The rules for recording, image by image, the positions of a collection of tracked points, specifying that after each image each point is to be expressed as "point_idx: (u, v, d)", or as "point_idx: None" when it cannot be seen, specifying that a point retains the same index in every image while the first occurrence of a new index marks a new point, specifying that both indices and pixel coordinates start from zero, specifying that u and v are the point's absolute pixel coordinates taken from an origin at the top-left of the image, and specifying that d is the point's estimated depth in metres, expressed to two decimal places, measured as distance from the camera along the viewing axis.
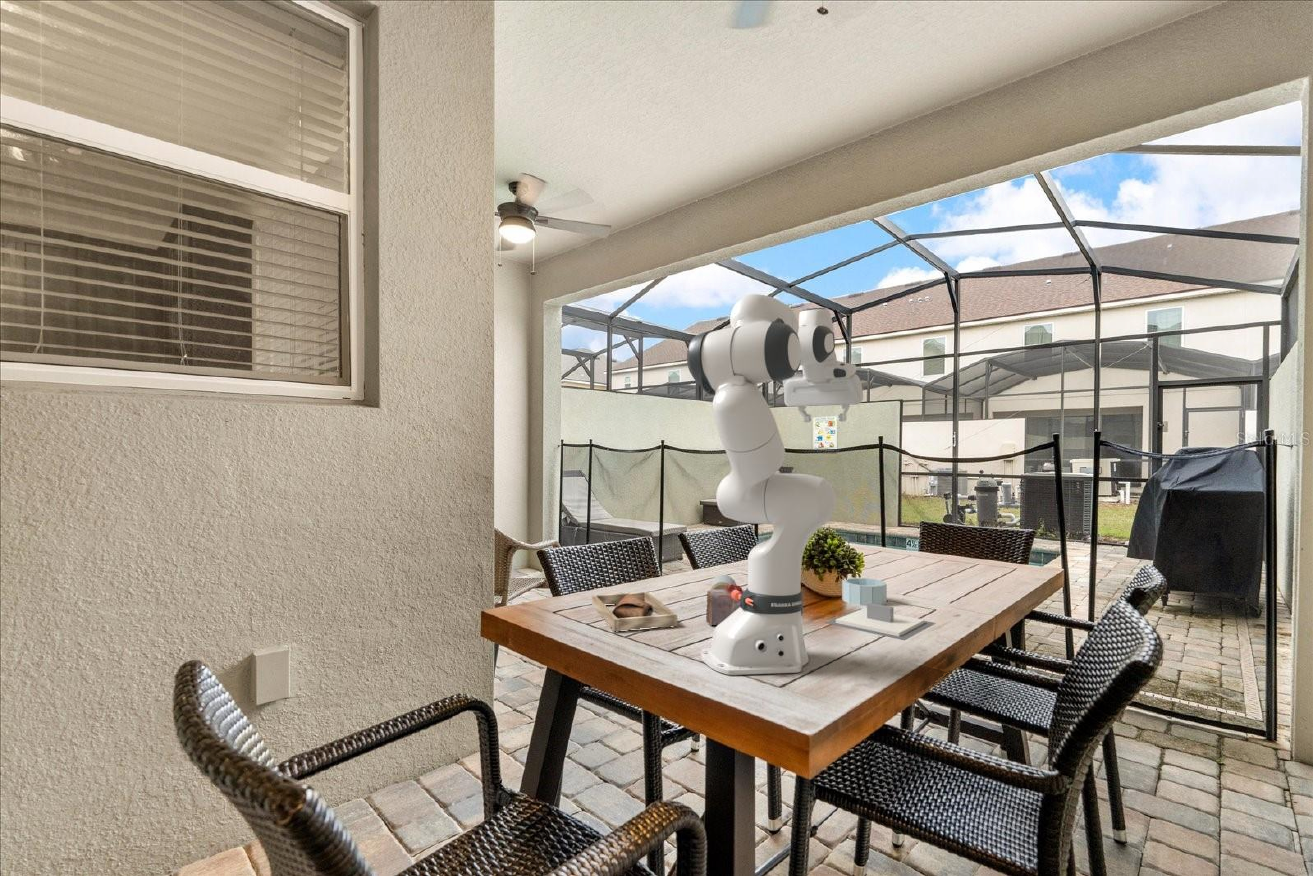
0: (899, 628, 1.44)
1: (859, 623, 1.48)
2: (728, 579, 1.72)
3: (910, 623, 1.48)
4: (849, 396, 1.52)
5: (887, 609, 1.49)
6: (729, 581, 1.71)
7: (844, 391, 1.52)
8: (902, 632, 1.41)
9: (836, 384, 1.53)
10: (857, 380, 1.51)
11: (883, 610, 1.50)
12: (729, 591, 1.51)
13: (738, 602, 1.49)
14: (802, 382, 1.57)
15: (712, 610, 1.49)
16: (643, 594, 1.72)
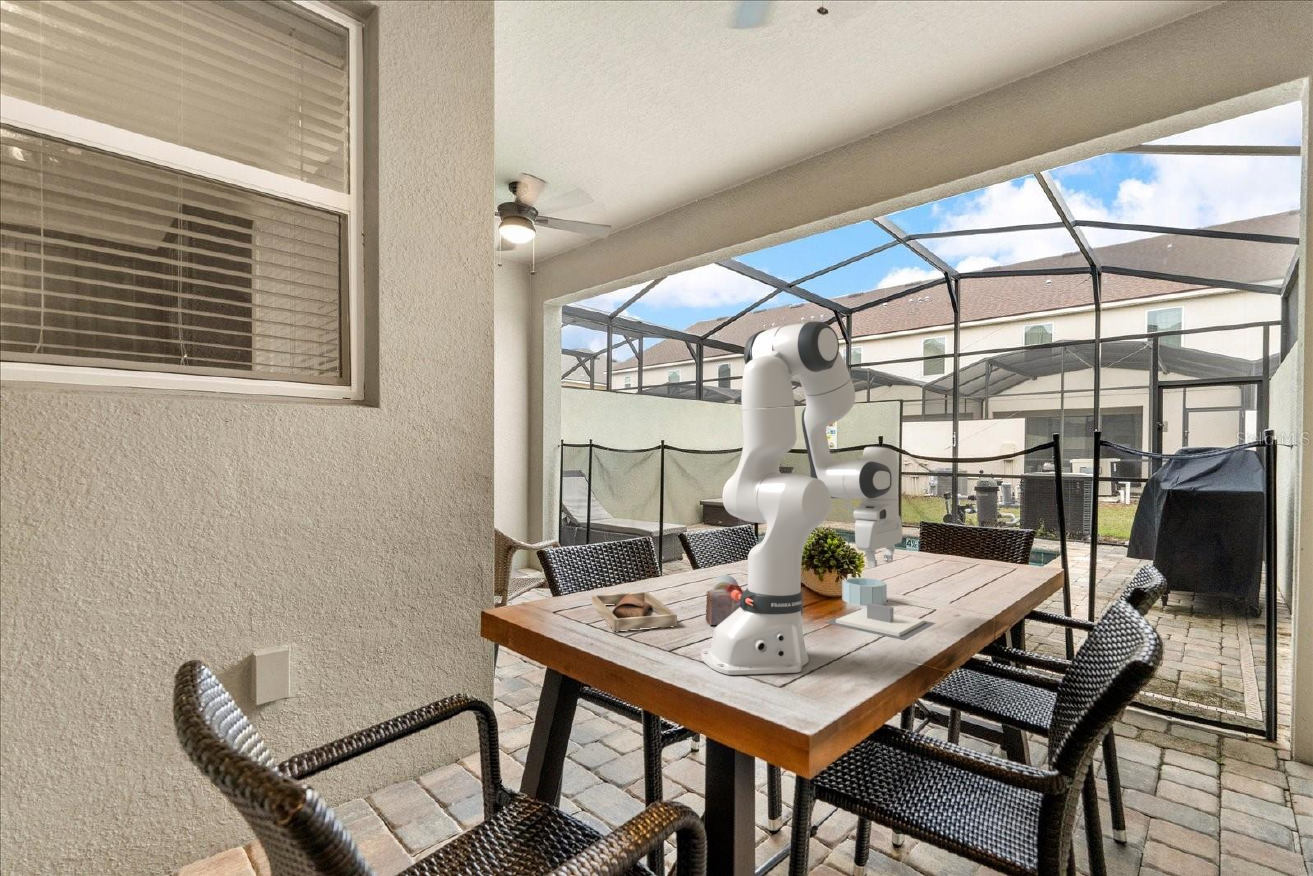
0: (899, 628, 1.44)
1: (859, 623, 1.48)
2: (730, 579, 1.72)
3: (910, 623, 1.48)
4: None
5: (887, 609, 1.49)
6: (731, 581, 1.71)
7: None
8: (902, 632, 1.41)
9: None
10: (861, 525, 1.46)
11: (883, 610, 1.50)
12: (729, 591, 1.51)
13: (738, 602, 1.49)
14: None
15: (712, 610, 1.49)
16: (643, 594, 1.72)
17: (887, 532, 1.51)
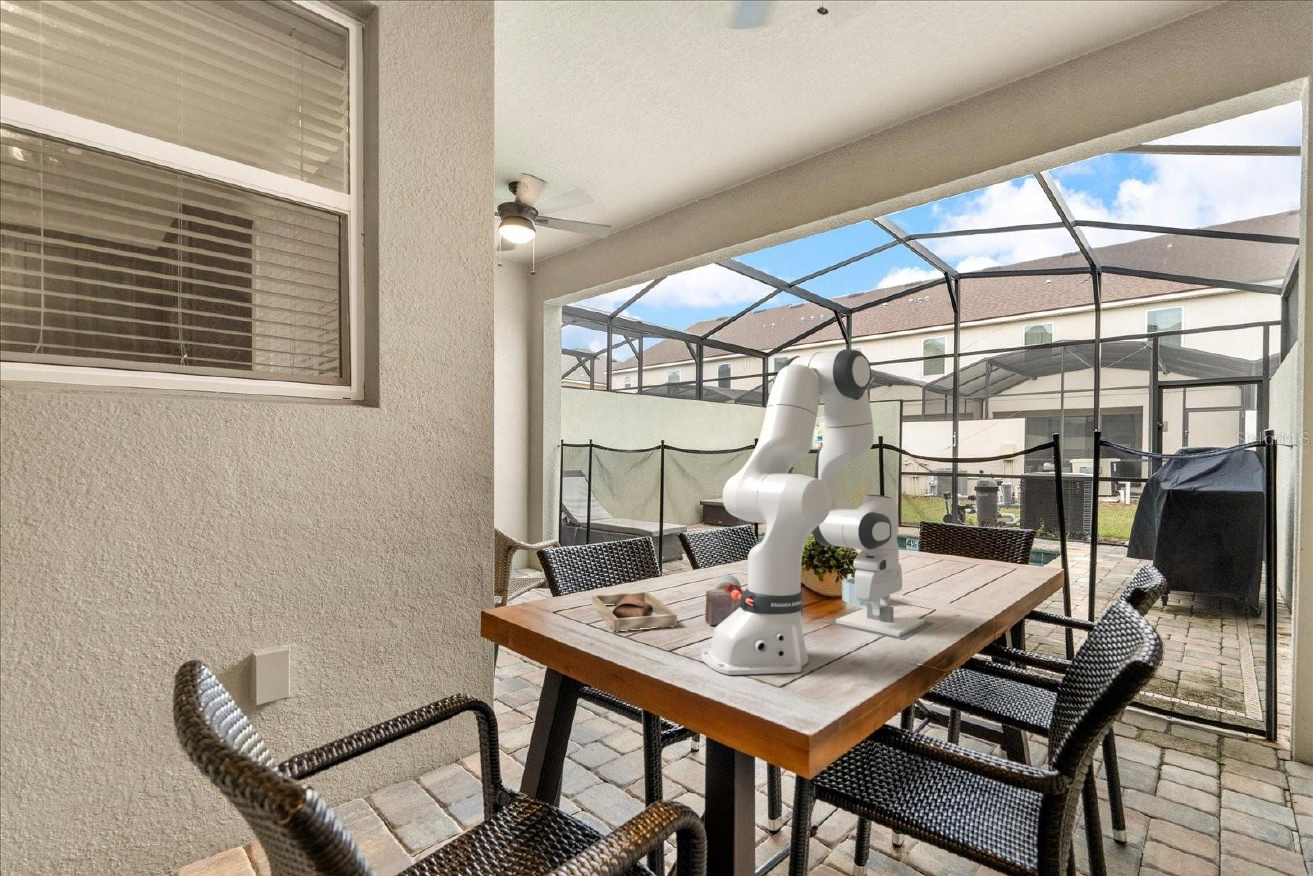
0: (899, 628, 1.44)
1: (859, 623, 1.48)
2: (732, 579, 1.72)
3: (910, 623, 1.48)
4: None
5: (887, 609, 1.49)
6: (733, 581, 1.71)
7: None
8: (902, 632, 1.41)
9: None
10: (861, 576, 1.45)
11: (883, 610, 1.50)
12: (728, 591, 1.51)
13: (737, 602, 1.49)
14: None
15: (712, 610, 1.49)
16: (643, 594, 1.72)
17: (887, 581, 1.50)
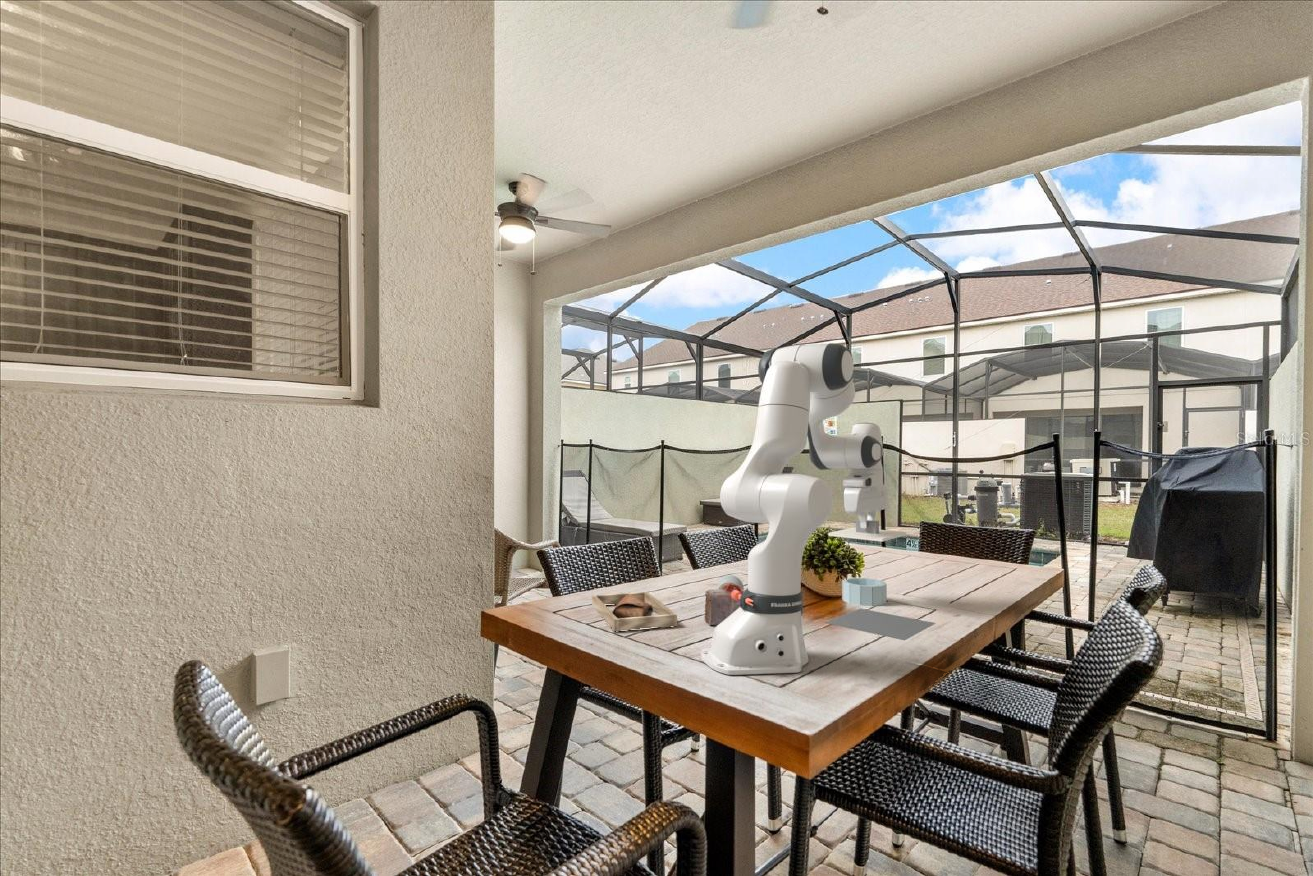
0: (883, 536, 1.64)
1: (848, 534, 1.69)
2: (735, 579, 1.72)
3: (893, 534, 1.69)
4: None
5: (873, 522, 1.70)
6: (736, 581, 1.70)
7: None
8: (885, 538, 1.62)
9: None
10: (849, 492, 1.66)
11: (870, 523, 1.70)
12: (728, 591, 1.51)
13: (737, 602, 1.50)
14: None
15: (711, 610, 1.49)
16: (643, 594, 1.72)
17: (873, 498, 1.71)
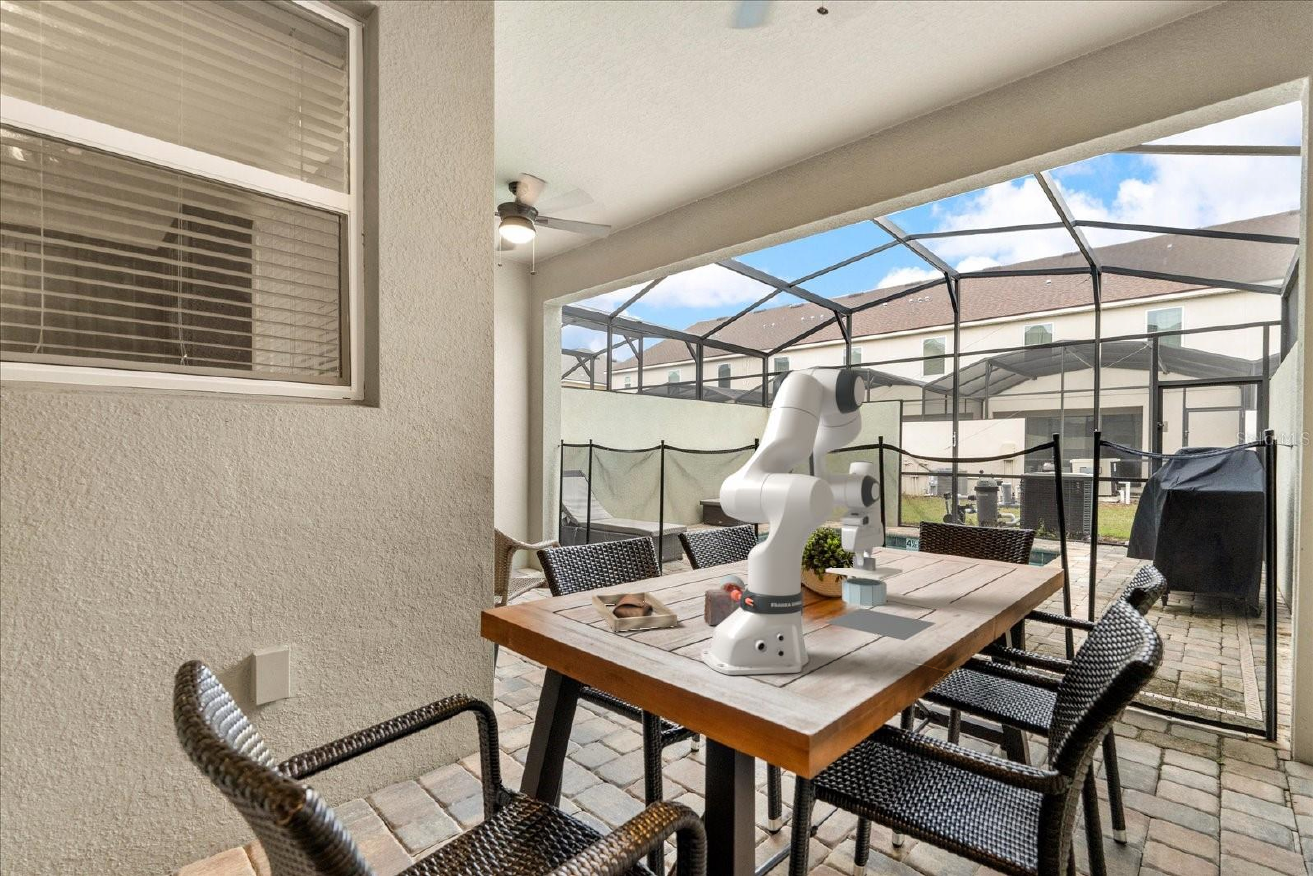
0: (879, 574, 1.67)
1: (845, 571, 1.71)
2: (736, 579, 1.72)
3: (889, 571, 1.72)
4: None
5: (870, 559, 1.73)
6: (737, 581, 1.70)
7: None
8: (882, 577, 1.65)
9: None
10: (847, 530, 1.69)
11: (866, 560, 1.73)
12: (728, 591, 1.51)
13: (737, 601, 1.50)
14: None
15: (711, 610, 1.49)
16: (643, 594, 1.72)
17: (870, 536, 1.74)
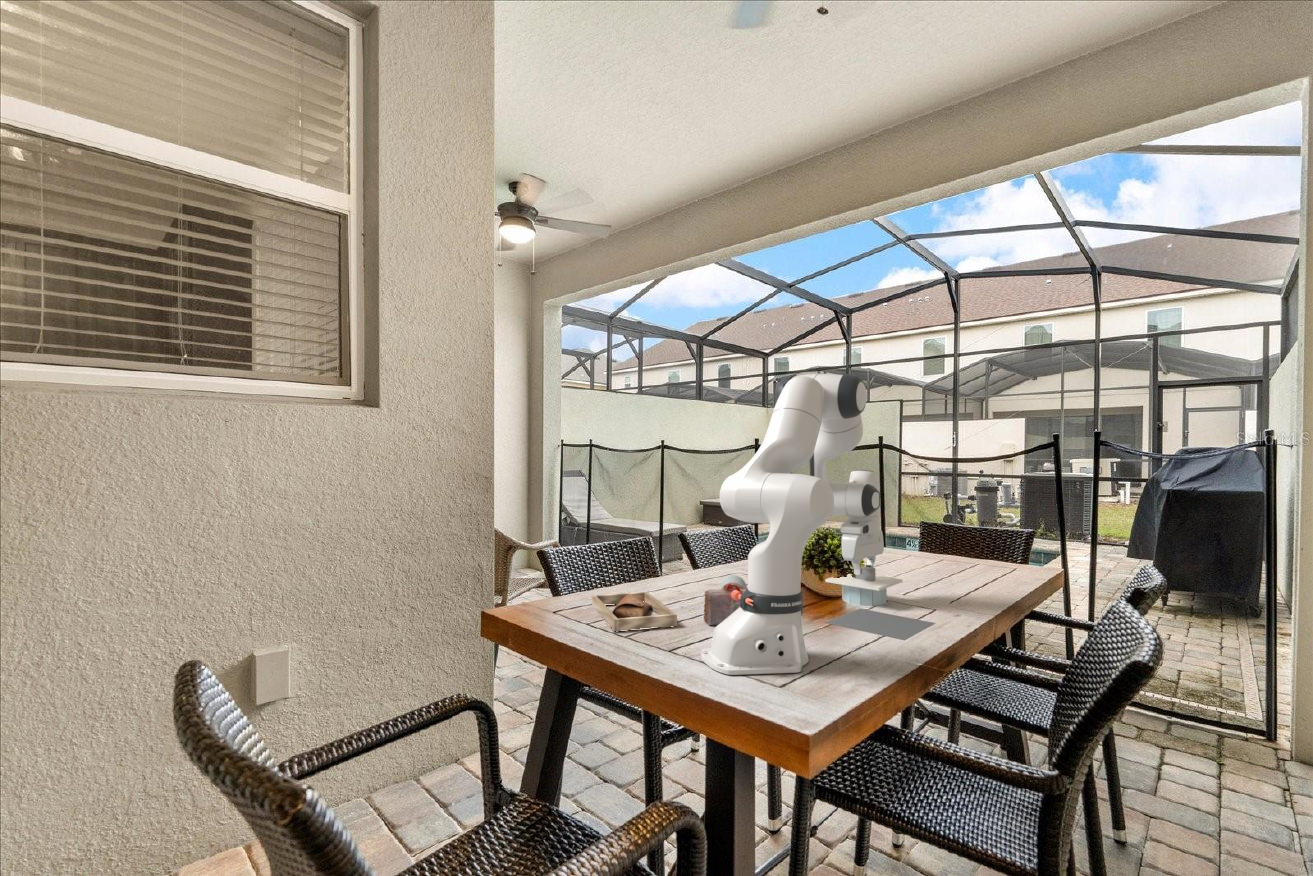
0: (879, 585, 1.67)
1: (845, 581, 1.71)
2: (738, 579, 1.72)
3: (889, 581, 1.71)
4: None
5: (870, 569, 1.72)
6: (739, 581, 1.70)
7: None
8: (882, 587, 1.65)
9: None
10: (847, 538, 1.69)
11: (866, 570, 1.73)
12: (727, 590, 1.51)
13: (736, 601, 1.50)
14: None
15: (711, 610, 1.49)
16: (643, 594, 1.72)
17: (870, 544, 1.74)
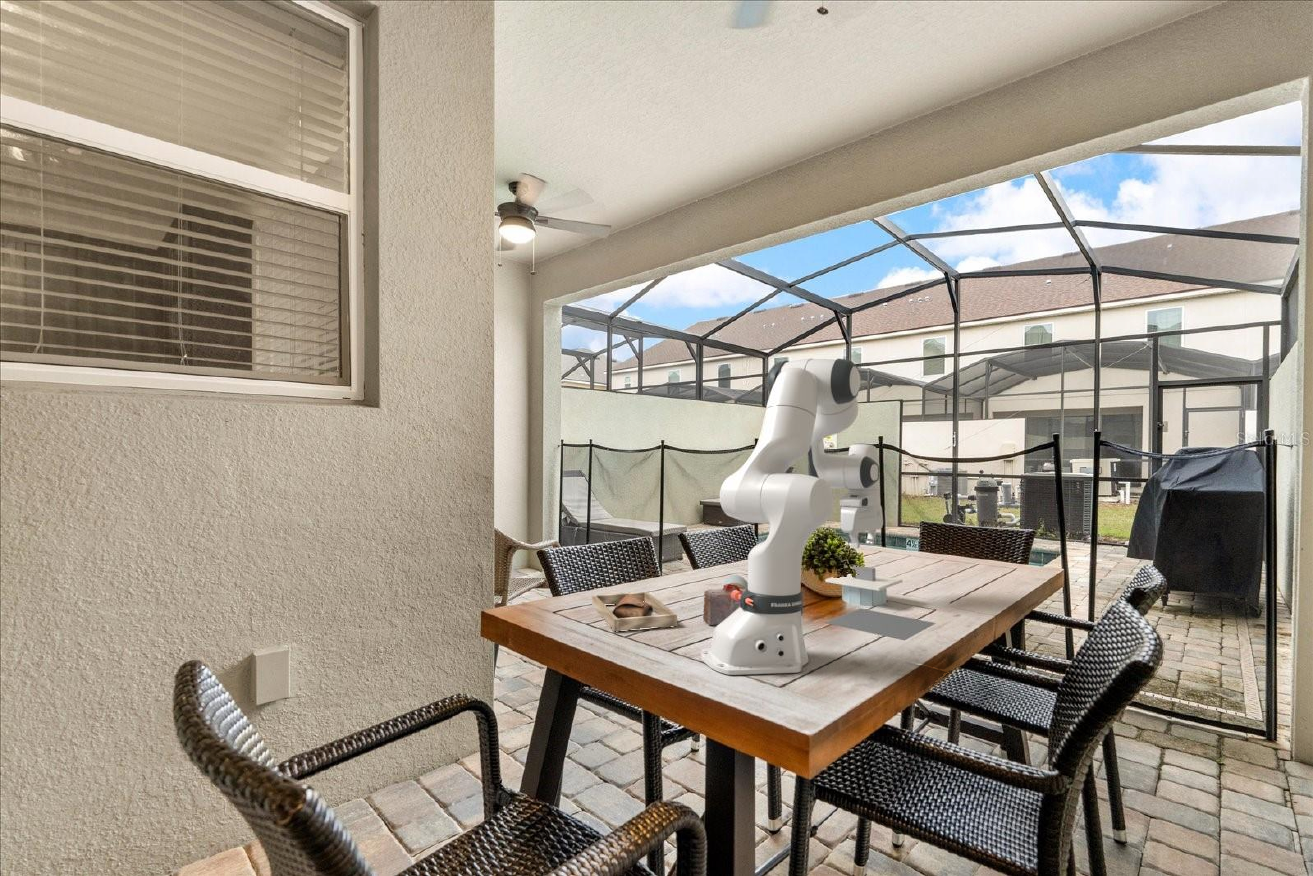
0: (879, 585, 1.67)
1: (845, 581, 1.71)
2: (740, 579, 1.72)
3: (889, 581, 1.71)
4: None
5: (870, 569, 1.72)
6: (741, 581, 1.70)
7: None
8: (882, 587, 1.65)
9: None
10: (846, 511, 1.69)
11: (866, 570, 1.73)
12: (727, 590, 1.51)
13: (736, 601, 1.50)
14: None
15: (711, 610, 1.49)
16: (643, 594, 1.72)
17: (869, 518, 1.74)
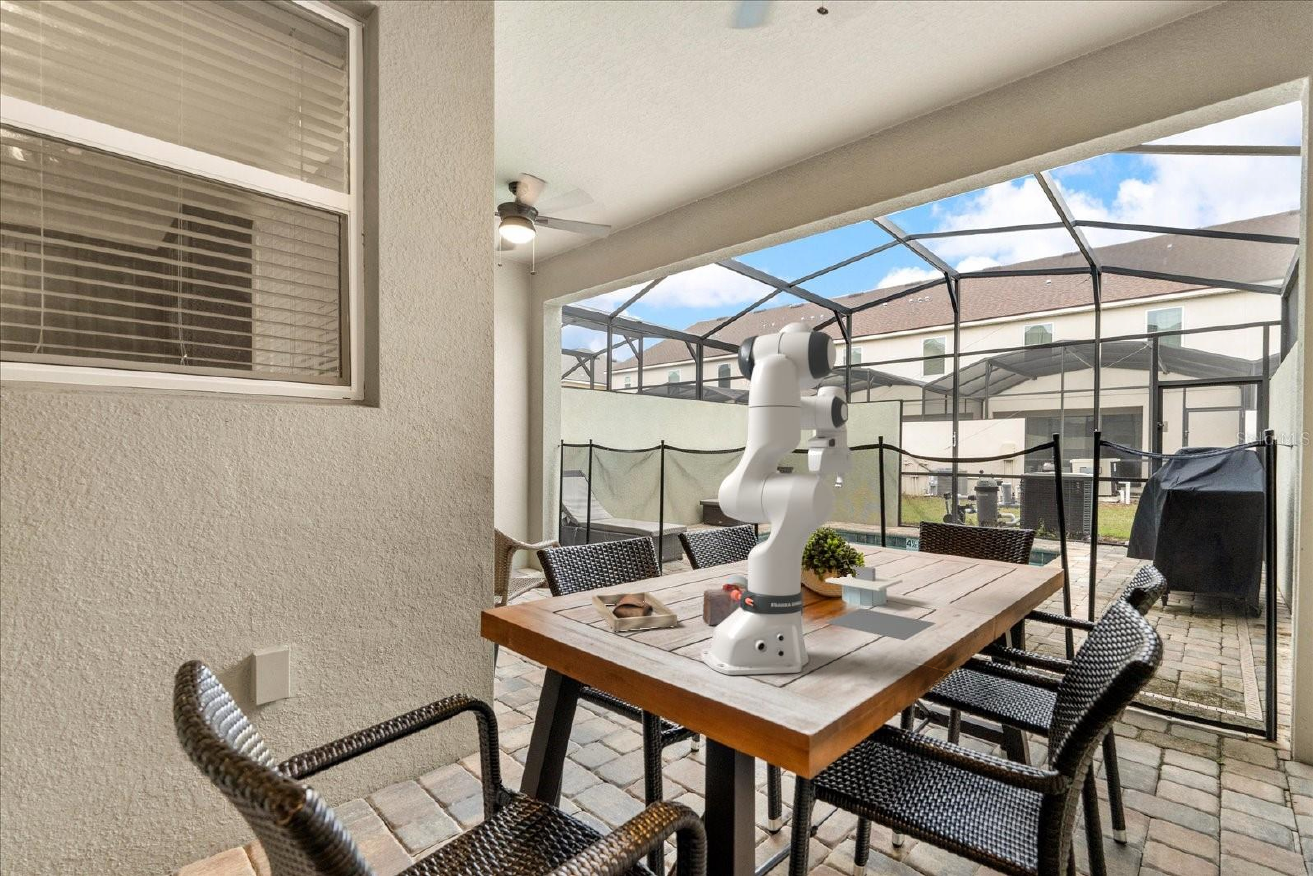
0: (879, 585, 1.67)
1: (845, 581, 1.71)
2: (743, 580, 1.71)
3: (889, 581, 1.71)
4: None
5: (870, 569, 1.72)
6: (744, 582, 1.70)
7: None
8: (882, 587, 1.65)
9: None
10: (813, 452, 1.70)
11: (866, 570, 1.73)
12: (727, 590, 1.51)
13: (736, 601, 1.50)
14: None
15: (710, 610, 1.49)
16: (643, 594, 1.72)
17: (837, 460, 1.75)
